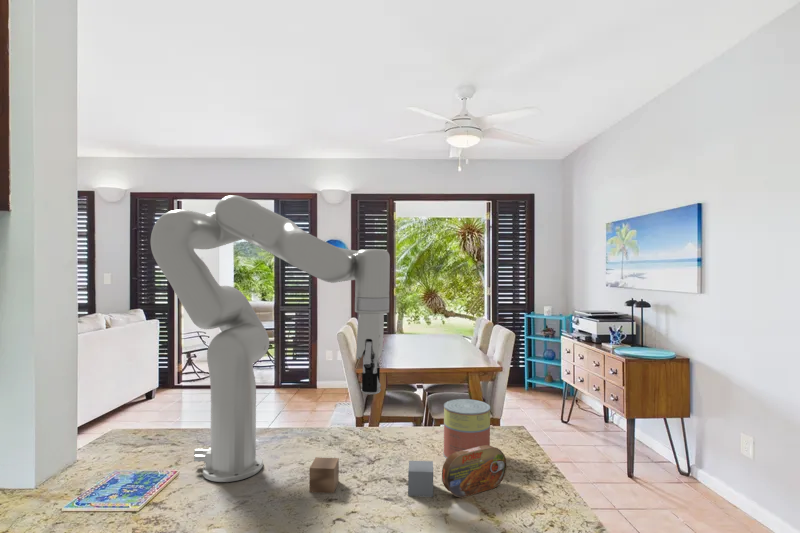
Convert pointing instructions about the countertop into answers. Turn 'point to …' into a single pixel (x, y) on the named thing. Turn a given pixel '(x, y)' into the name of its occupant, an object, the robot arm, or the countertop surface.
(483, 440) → the canned food
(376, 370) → the rook chess piece
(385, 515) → the countertop surface
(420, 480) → the medium-grey block
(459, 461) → the tin
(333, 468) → the walnut block
